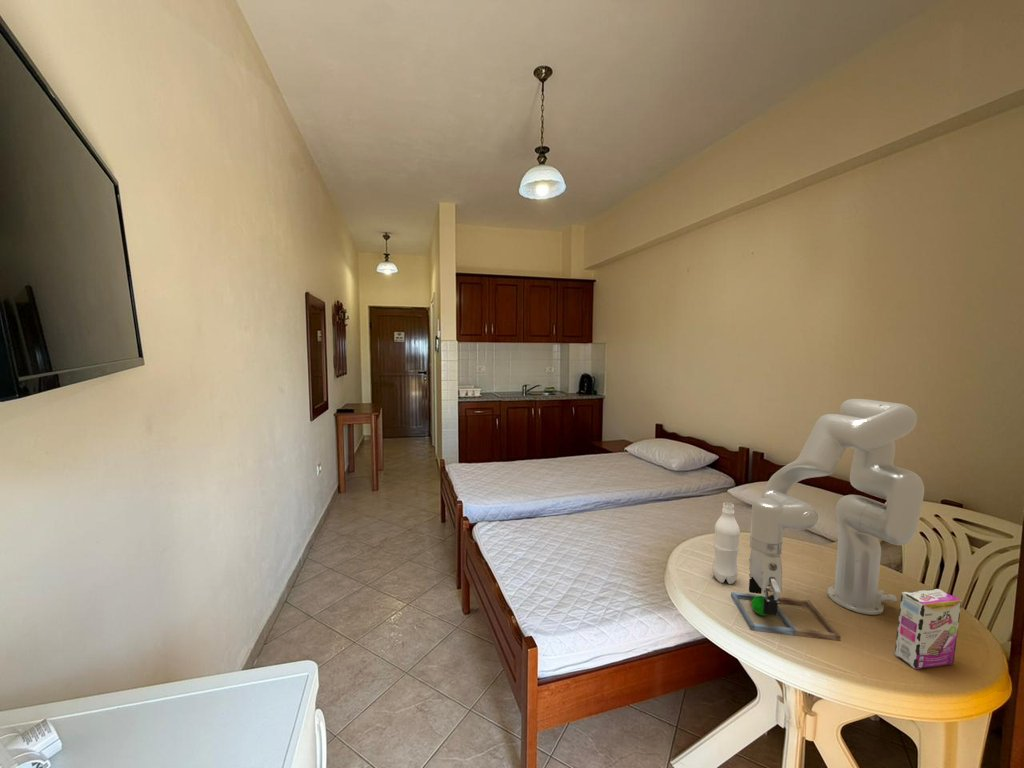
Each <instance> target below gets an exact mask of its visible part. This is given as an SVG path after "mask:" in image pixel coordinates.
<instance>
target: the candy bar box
mask: <svg viewBox="0 0 1024 768" xmlns="http://www.w3.org/2000/svg"><path fill="white" fill-rule="evenodd" d="M900 596H901V597H900V604H899V605H900V606H899V613H898V624H897V629H896V630H897V631H896V640H895V649H894V656H895V657H897V658H898V659H900V660H901V661H902V662H904V663H905V664H907V665H908V666H910V667H911V668H913V669H914V670H922V669H923V670H924V669H928V668H935V667H936V668H937V667H943V666H950V665H954V661H955V655H956V649H957V648H956V647H957V641H958V640H957V639H958V630H959V626H960V625H959V624H960V618H961V610H962V609H961V608H962V602H963V600H961V599H960V598H958V597H956V596H954V595H952V594H950V593H948V592H945V591H944V590H942V589H939V588H935V589H925V590H913V591H912V590H911V591H901V595H900Z"/></svg>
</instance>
